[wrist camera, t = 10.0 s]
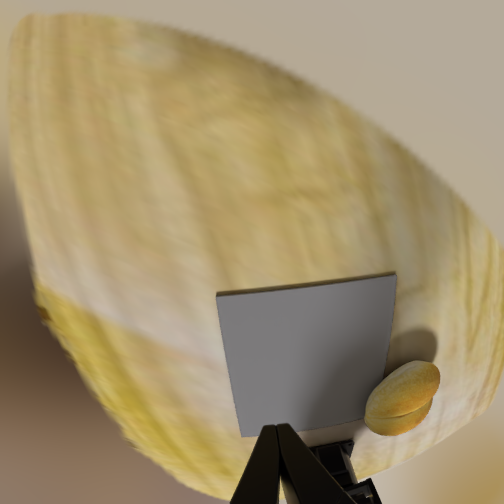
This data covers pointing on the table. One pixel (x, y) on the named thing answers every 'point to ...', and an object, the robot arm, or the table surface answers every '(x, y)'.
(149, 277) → the table surface
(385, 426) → the bread roll
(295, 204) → the table surface
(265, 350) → the serving mat
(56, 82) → the table surface
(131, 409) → the table surface
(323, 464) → the robot arm
